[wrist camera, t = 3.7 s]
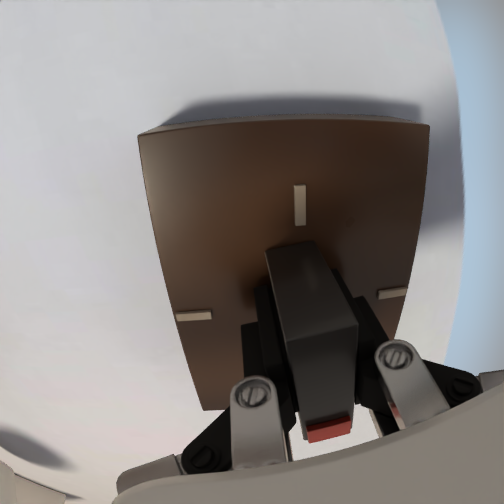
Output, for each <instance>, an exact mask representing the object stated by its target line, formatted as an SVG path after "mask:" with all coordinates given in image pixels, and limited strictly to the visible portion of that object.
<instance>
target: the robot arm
mask: <svg viewBox="0 0 504 504" xmlns="http://www.w3.org/2000/svg"><path fill="white" fill-rule="evenodd" d="M331 272H332V274H333V276H334V278H335V280H336V281H337V283H338V285H339V287H340V289H341V291H342V293H343V295H344V296H345V298H346V300H347V302H348V304H349V306H350V308H351V310H352V312H353V314H354V316H355V318H356V320H357V322H358V352H357V372H356V388H355V401H354V402H355V405H357V404H361V406H363V407H366V408H369V413H370V415H371V418H372V421H373V423H374V426H375V428H376V431H377V434H378V436H379V438H378V439H375V440H372V441H369V442H366V443H363V444H360V445H356V446H353V447H350V448H346V449H342V450H339V451H335V452H331V453H327V454H323V455H319V456H315V457H311V458H306V459H302V460H297V461H294V460H293V454H292V447H291V441H290V435H289V431H290V430H291V429H292V427H293V426H294V425H295V424H296V416H295V412H298V408H297V403H296V398H295V393H294V388H293V383H292V378H291V372H290V367H289V363H288V358H287V353H286V349H285V344H284V339H283V335H282V330H281V326H280V321H279V317H278V312H277V308H276V303H275V299H274V295H273V290H272V287H271V288H268V286H267V285H263V286H259V287H254V288H253V290H254V297H255V305H256V312H257V319H258V321H257V322H252V323H247V324H242V325H241V341H242V355H243V369H244V378H243V379H241V380H239V381H238V382H237V383H236V384H235V385H234V386H233V388H232V390H231V394H230V406H229V407H228V408H227V409H226V410H225V411H224V412H223V413H222V414H221V415H220V416H219V417H218V418H217V419H216V420H214V421H213V422H212V423H211V424H210V425H209V426H208V427H207V428H206V429H205V430H204V431H203V432H202V433H201V434H200V435H199V436H197V437H196V438H195V439H194V440H193V441H192V442H191V443H190V444H189V445H188V446H187V447H186V448H185V449H184V451H183V453H182V454H179V455H177V456H175V455H174V454H172V455H169V456H167V457H164V458H161V459H158V460H156V461H153V462H150V463H147V464H144V465H141V466H138V467H135V468H132V469H129V470H127V471H125V472H123V473H122V474H121V475H120V476H119V477H118V480H117V482H116V484H117V492H118V496H117V497H116V498H115V499H114V501H113V502H112V504H504V370H499V371H492V372H484V373H479V375H478V376H474V375H473V374H471V373H469V372H466V371H462V370H459V369H455V368H451V367H448V366H444V365H441V364H437V363H434V362H430V361H427V360H423V359H421V357H420V356H419V354H418V352H417V351H416V349H415V348H414V347H413V346H412V344H410V343H408V342H407V341H403V340H396V339H393V340H390V339H389V338H388V336H387V334H386V332H385V331H384V329H383V327H382V325H381V324H380V322H379V320H378V319H377V317H376V315H375V313H374V312H373V310H372V308H371V307H370V305H369V303H368V302H367V300H366V298H365V297H364V296H359V297H355V298H353V296H352V294H351V293H350V291H349V289H348V287H347V286H346V284H345V282H344V280H343V279H342V277H341V275H340V273H339V272H338V270H337V269H336V268H335V269H331Z"/></svg>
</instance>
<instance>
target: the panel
mask: <svg viewBox="0 0 504 504" xmlns="http://www.w3.org/2000/svg"><path fill="white" fill-rule="evenodd" d="M429 132H430V126H429V125H427V124H423V123H419V122H414V121H410V120H405V119H400V118H395V117H388V116H373V115H353V114H278V115H258V116H243V117H230V118H219V119H210V120H201V121H192V122H185V123H177V124H170V125H164V126H158V127H156V128H153V129H151V130H148V131H146V132H144V133H141V134H139V135H138V136H137V138H138V145H139V152H140V158H141V165H142V171H143V177H144V183H145V189H146V195H147V200H148V205H149V211H150V216H151V221H152V226H153V231H154V236H155V240H156V245H157V250H158V254H159V258H160V263H161V267H162V271H163V276H164V280H165V284H166V288H167V292H168V296H169V300H170V304H171V307H172V311H173V315H174V319H175V322H176V326H177V329H178V333H179V336H180V340H181V343H182V347H183V350H184V354H185V357H186V360H187V363H188V367H189V370H190V373H191V376H192V379H193V382H194V385H195V388H196V392H197V395H198V397H199V400H200V403H201V406H202V409H203V411H208V410H226V409H227V408H228V407H229V406H230V394H231V390H232V388H233V386H234V385H235V384H236V383H237V382H238V381H239V380H241V379H243V378H244V369H243V355H242V341H241V325H242V324H247V323H252V322H257V321H258V319H257V312H256V305H255V297H254V290H253V288H254V287H259V286H263V285H267V286H268V288H271V287H272V286H271V281H270V276H269V272H268V267H267V262H266V258H265V251H266V250H271V249H276V248H280V247H285V246H289V245H294V244H298V243H303V242H308V241H314V242H315V243H316V245H317V247H318V249H319V250H320V252H321V254H322V256H323V258H324V259H325V261H326V263H327V265H328V267H329V268H330V270H331V269H335V268H336V269H337V270H338V272H339V273H340V275H341V277H342V279H343V280H344V282H345V284H346V286H347V287H348V289H349V291H350V293H351V294H352V296H353V298H355V297H359V296H364V297H365V298H366V300H367V302H368V303H369V305H370V307H371V308H372V310H373V312H374V313H375V315H376V317H377V319H378V320H379V322H380V324H381V325H382V327H383V329H384V331H385V332H386V334H387V336H388V338H389V339H390V340H393V339H394V337H395V334H396V330H397V327H398V323H399V320H400V316H401V313H402V309H403V305H404V301H405V297H406V293H407V289H408V285H409V280H410V276H411V271H412V266H413V262H414V257H415V251H416V246H417V241H418V235H419V229H420V223H421V216H422V209H423V202H424V194H425V185H426V175H427V164H428V151H429Z"/></svg>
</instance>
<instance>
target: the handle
mask: <svg viewBox="0 0 504 504" xmlns="http://www.w3.org/2000/svg"><path fill="white" fill-rule="evenodd" d="M265 258H266V262H267V267H268V272H269V276H270V281H271V286H272V290H273V295H274V299H275V303H276V308H277V312H278V317H279V321H280V326H281V330H282V335H283V339H284V344H285V349H286V353H287V358H288V363H289V367H290V372H291V378H292V383H293V388H294V393H295V398H296V403H297V408H298V415H299V420H300V424H301V429H302V434H303V439H304V440H308V442H309V443H313V442H318V441H322V440H326V439H330V438H334V437H338V436H341V435H345V434H349V433H350V429H351V428H352V422H353V412H354V401H355V388H356V372H357V352H358V322H357V320H356V318H355V316H354V314H353V312H352V310H351V308H350V306H349V304H348V302H347V300H346V298H345V296H344V295H343V293H342V291H341V289H340V287H339V285H338V283H337V281H336V280H335V278H334V276H333V274H332V272H331V270H330V268H329V267H328V265H327V263H326V261H325V259H324V258H323V256H322V254H321V252H320V250H319V249H318V247H317V245H316V243H315V242H314V241H308V242H303V243H298V244H294V245H289V246H285V247H280V248H276V249H271V250H266V251H265Z"/></svg>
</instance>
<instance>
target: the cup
mask: <svg viewBox="0 0 504 504" xmlns="http://www.w3.org/2000/svg"><path fill="white" fill-rule="evenodd" d="M0 504H17V498H16V487H15V478H14V471H13V469H12V468H11V467H9V466H8V465H7V464H5V463H4V462H2V461H0Z"/></svg>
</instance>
